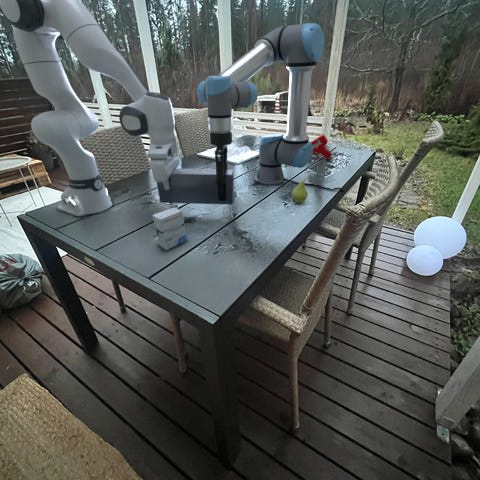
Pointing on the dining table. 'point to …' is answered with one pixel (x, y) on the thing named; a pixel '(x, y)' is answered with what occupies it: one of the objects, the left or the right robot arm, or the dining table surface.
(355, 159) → the dining table surface
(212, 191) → the box
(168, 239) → the ink box
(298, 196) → the fruit
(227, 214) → the dining table surface
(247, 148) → the relief map
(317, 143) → the toy gun
